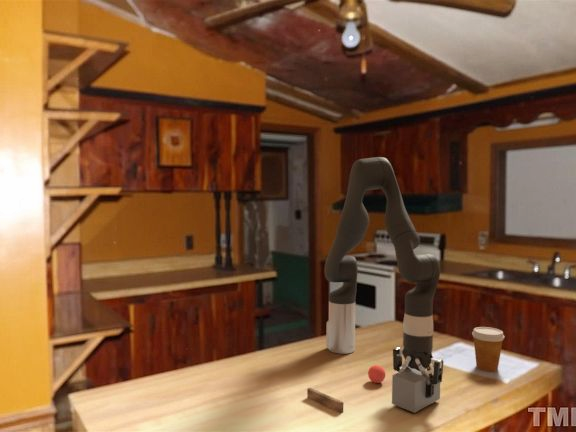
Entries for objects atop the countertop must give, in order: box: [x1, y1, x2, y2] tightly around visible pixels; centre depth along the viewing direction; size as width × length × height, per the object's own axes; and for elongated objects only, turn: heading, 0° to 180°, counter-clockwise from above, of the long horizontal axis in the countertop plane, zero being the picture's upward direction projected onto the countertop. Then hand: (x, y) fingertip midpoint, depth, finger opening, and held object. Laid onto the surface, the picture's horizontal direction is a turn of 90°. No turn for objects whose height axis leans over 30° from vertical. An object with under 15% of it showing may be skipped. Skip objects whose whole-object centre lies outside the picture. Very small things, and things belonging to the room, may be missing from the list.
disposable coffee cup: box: [471, 326, 505, 372], centre depth 154 cm, size 10×10×12 cm
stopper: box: [306, 387, 344, 414], centre depth 127 cm, size 12×1×2 cm, turn 42°
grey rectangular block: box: [391, 367, 441, 414], centre depth 128 cm, size 7×12×8 cm, turn 132°
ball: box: [367, 364, 386, 384], centre depth 142 cm, size 5×5×5 cm
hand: (416, 392), depth 128 cm, fingers closed on grey rectangular block, 7 cm apart
